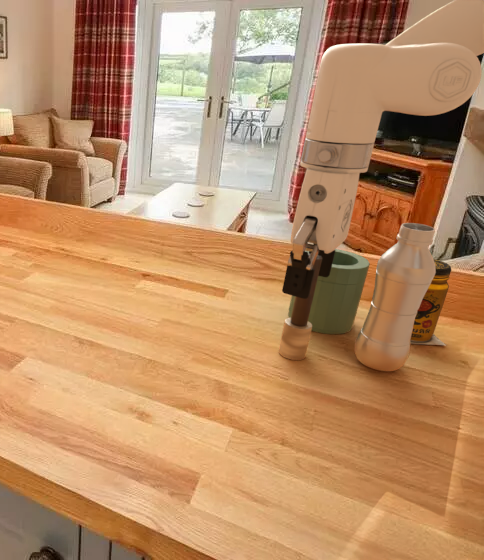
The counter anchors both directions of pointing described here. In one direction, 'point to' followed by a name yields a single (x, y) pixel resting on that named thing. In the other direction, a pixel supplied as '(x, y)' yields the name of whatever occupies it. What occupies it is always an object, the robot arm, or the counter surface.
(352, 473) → the counter surface
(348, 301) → the green hollow cylinder cup
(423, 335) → the condiment
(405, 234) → the plastic bottle
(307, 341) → the brush
